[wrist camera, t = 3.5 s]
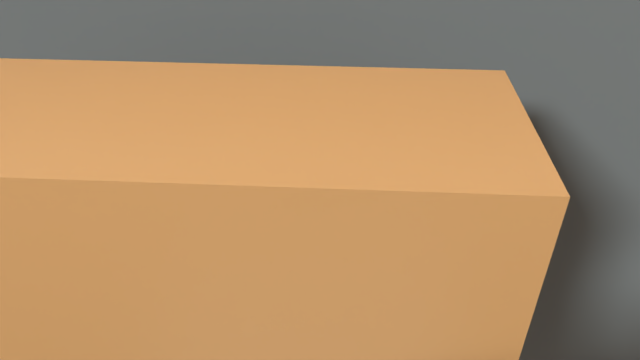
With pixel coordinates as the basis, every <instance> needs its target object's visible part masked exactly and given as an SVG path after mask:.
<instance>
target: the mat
mask: <svg viewBox="0 0 640 360" xmlns="http://www.w3.org/2000/svg"><path fill="white" fill-rule="evenodd" d="M0 58H9V59H51V60H92V61H134V62H176V63H217V64H259V65H301V66H342V67H384V68H426V69H467V70H505V72H506V74H507V76H508V78H509V80H510V82H511V84H512V85H513V87H514V89H515V91H516V93H517V95H518V97H519V99H520V101H521V103H522V105H523V107H524V109H525V111H526V112H527V114H528V116H529V118H530V120H531V122H532V124H533V126H534V128H535V130H536V132H537V134H538V136H539V138H540V139H541V141H542V143H543V145H544V147H545V149H546V151H547V153H548V155H549V157H550V159H551V161H552V163H553V165H554V166H555V168H556V170H557V172H558V174H559V176H560V178H561V180H562V182H563V184H564V186H565V188H566V190H567V192H568V193H569V195H570V199H569V203H568V206H567V209H566V212H565V215H564V218H563V221H562V225H561V228H560V231H559V234H558V237H557V240H556V244H555V247H554V250H553V253H552V256H551V259H550V262H549V266H548V269H547V272H546V275H545V278H544V281H543V285H542V288H541V291H540V294H539V297H538V300H537V303H536V307H535V310H534V313H533V316H532V319H531V322H530V326H529V329H528V332H527V335H526V338H525V341H524V345H523V348H522V351H521V354H520V357H519V360H640V0H0Z"/></svg>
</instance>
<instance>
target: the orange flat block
mask: <svg viewBox="0 0 640 360" xmlns="http://www.w3.org/2000/svg"><path fill="white" fill-rule="evenodd" d="M569 199H570V195H569V193H568V192H567V190H566V188H565V186H564V184H563V182H562V180H561V178H560V176H559V174H558V172H557V170H556V168H555V166H554V165H553V163H552V161H551V159H550V157H549V155H548V153H547V151H546V149H545V147H544V145H543V143H542V141H541V139H540V138H539V136H538V134H537V132H536V130H535V128H534V126H533V124H532V122H531V120H530V118H529V116H528V114H527V112H526V111H525V109H524V107H523V105H522V103H521V101H520V99H519V97H518V95H517V93H516V91H515V89H514V87H513V85H512V84H511V82H510V80H509V78H508V76H507V74H506V72H505V70H467V69H426V68H384V67H342V66H301V65H259V64H217V63H176V62H134V61H92V60H51V59H9V58H0V360H519V357H520V354H521V351H522V348H523V345H524V341H525V338H526V335H527V332H528V329H529V326H530V322H531V319H532V316H533V313H534V310H535V307H536V303H537V300H538V297H539V294H540V291H541V288H542V285H543V281H544V278H545V275H546V272H547V269H548V266H549V262H550V259H551V256H552V253H553V250H554V247H555V244H556V240H557V237H558V234H559V231H560V228H561V225H562V221H563V218H564V215H565V212H566V209H567V206H568V203H569Z"/></svg>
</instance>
